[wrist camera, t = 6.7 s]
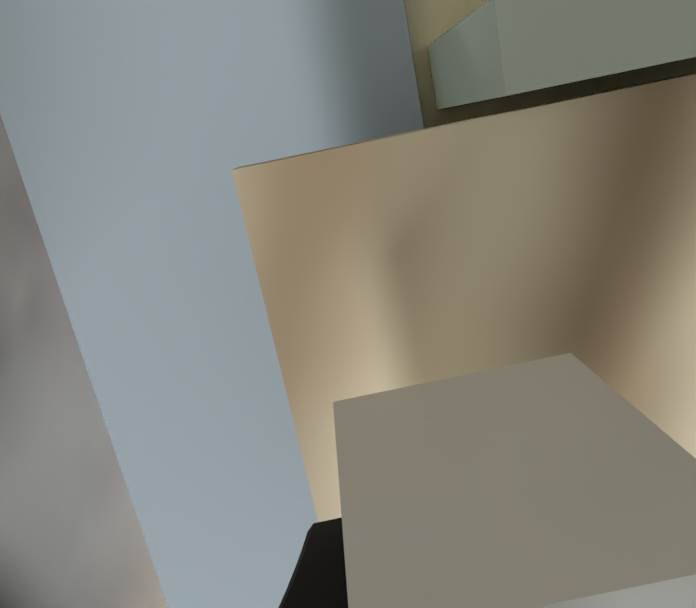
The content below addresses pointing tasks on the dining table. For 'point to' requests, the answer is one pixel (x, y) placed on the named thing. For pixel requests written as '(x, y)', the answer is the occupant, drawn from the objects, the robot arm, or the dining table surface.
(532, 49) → the flap stand
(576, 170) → the flap
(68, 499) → the dining table surface
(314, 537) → the robot arm
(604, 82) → the dining table surface
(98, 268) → the mat
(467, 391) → the light grey block
